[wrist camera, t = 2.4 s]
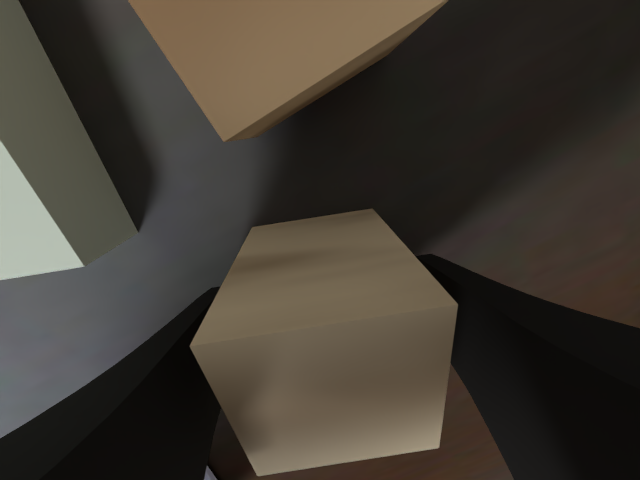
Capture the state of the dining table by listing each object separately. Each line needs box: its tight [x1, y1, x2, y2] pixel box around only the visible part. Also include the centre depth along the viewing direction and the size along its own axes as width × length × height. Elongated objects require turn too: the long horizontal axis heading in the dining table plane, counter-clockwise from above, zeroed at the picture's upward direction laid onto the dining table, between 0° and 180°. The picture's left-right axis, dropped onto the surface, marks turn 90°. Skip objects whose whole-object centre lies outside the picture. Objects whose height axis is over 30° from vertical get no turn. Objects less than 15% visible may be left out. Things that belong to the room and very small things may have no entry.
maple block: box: [190, 208, 458, 476], centre depth 8 cm, size 5×5×6 cm
